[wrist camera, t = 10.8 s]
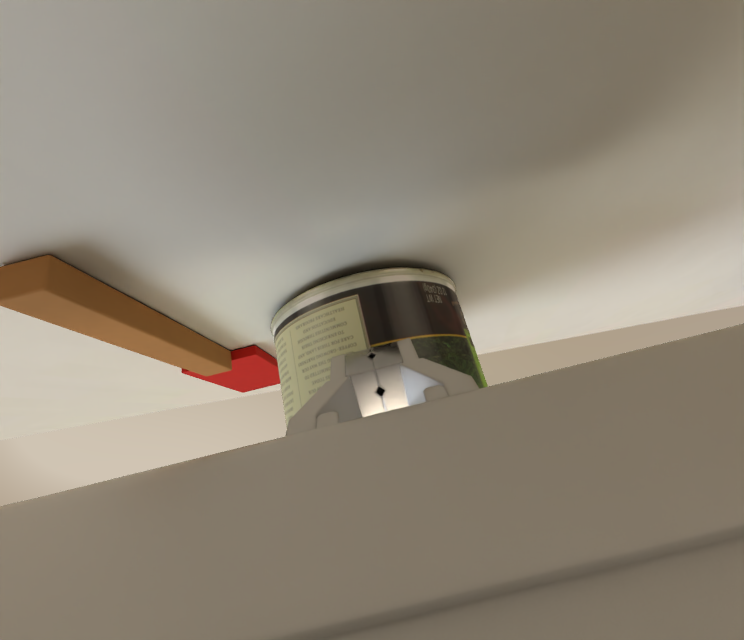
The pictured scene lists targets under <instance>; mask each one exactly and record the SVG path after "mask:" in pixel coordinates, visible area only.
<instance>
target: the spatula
mask: <svg viewBox="0 0 744 640" xmlns="http://www.w3.org/2000/svg"><path fill="white" fill-rule="evenodd" d="M0 306H3V307H6V308H9V309H12V310H14V311H17V312H20V313H23V314H26V315H29V316H32V317H35V318H38V319H41V320H44V321H46V322H49V323H52V324H55V325H58V326H61V327H64V328H67V329H70V330H73V331H76V332H78V333H81V334H84V335H87V336H90V337H93V338H96V339H99V340H102V341H105V342H107V343H110V344H113V345H116V346H119V347H122V348H125V349H128V350H131V351H134V352H137V353H139V354H142V355H145V356H148V357H151V358H154V359H157V360H160V361H163V362H166V363H169V364H171V365H174V366H177V367H180V368H182V373H184V374H187V375H190V376H193V377H196V378H199V379H202V380H205V381H208V382H212V383H215V384H218V385H221V386H224V387H227V388H230V389H233V390H236V391H239V392H247V391H251V390H255V389H259V388H263V387H267V386H272V385H276V384H280V377H279V370H278V363H277V359H275V358H274V357H272V356H271V355H269V354H268V353H266V352H264V351H263V350H261V349H260V348H258V347H257V346H255V345H254V346H250V347H246V348H242V349H238V350H234V351H229V350H227V349H225V348H224V347H222V346H220V345H218V344H216V343H214V342H212V341H210V340H209V339H207V338H205V337H203V336H201V335H199V334H197V333H195V332H194V331H192V330H190V329H188V328H186V327H184V326H182V325H181V324H179V323H177V322H175V321H173V320H171V319H169V318H167V317H166V316H164V315H162V314H160V313H158V312H156V311H154V310H152V309H151V308H149V307H147V306H145V305H143V304H141V303H139V302H138V301H136V300H134V299H132V298H130V297H128V296H126V295H124V294H123V293H121V292H119V291H117V290H115V289H113V288H111V287H109V286H108V285H106V284H104V283H102V282H100V281H98V280H96V279H95V278H93V277H91V276H89V275H87V274H85V273H83V272H81V271H80V270H78V269H76V268H74V267H72V266H70V265H68V264H66V263H65V262H63V261H61V260H59V259H57V258H55V257H53V256H51V255H45V256H41V257H37V258H33V259H29V260H25V261H21V262H17V263H14V264H10V265H6V266H2V267H0Z"/></svg>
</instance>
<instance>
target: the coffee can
mask: <svg viewBox="0 0 744 640" xmlns="http://www.w3.org/2000/svg"><path fill="white" fill-rule="evenodd" d="M271 332H272V335H273V337H274V343H275V348H276V355H277V363H278V370H279V377H280V384H281V391H282V398H283V405H284V412H285V419H286V426H288V421H289V420H290V419H291V418H292V417H293V416H294V415H295V414H296V413H297V412H298V411H299V410H300V409H301V408H302V407H303V405H304V404H305V403H306V402H307V401H308V400H309V399H310V398H311V397H312V396H313V395H314V394H315V393H316V392H317V391H318V390H319V389H320V388H321V387H322V386H323V385H324V384H325V383H326V382H327V381H330V373H331V358H332V357H335V356H339V355H342V354H348V353H352V352H356V351H361V350H365V349H369V348H374V347H377V346H381V345H385V344H388V343H392V342H396V343H397V341H400V340H403V339H407V338H410V339H411V341H412V344H413V346H414V348H415V351H416V353H417V355H418V358H424V359H427V360H430V361H432V362H435V363H438V364H440V365H443V366H446V367H448V368H451V369H454V370H456V371H459V372H462V373H464V374H467V375H470V376H472V378H473V379H474V381H475V382H476V384H477V386H478V387H479V389H480V388H484V387H488V386H487V383H486V380H485V377H484V374H483V371H482V368H481V366H480V363H479V360H478V357H477V354H476V351H475V347H474V345H473V342H472V340H471V337H470V333H469V330H468V328H467V325H466V322H465V319H464V316H463V312H462V310H461V307H460V304H459V302H458V299H457V296H456V288H455V285H454V282H453V281H452V280H451V279H450V278H449V277H448V276H446V275H445V274H442V273H440V272H437V271H434V270H429V269H422V268H407V267H396V268H386V269H377V270H371V271H366V272H361V273H356V274H352V275H349V276H345V277H341V278H338V279H335V280H332V281H330V282H327V283H324V284H321V285H319V286H316V287H314V288H312V289H310V290H308V291H306V292H304V293H302V294H301V295H299V296H297V297H296V298H294V299H293V300H291V301H290V302H288V303H287V304H286V305H284V306H283V307H282V308H281V309H280V310H279V311H278V312H277V313H276V315H275V317H274V318H273V320H272V323H271Z"/></svg>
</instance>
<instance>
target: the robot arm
mask: <svg viewBox="0 0 744 640" xmlns="http://www.w3.org/2000/svg"><path fill="white" fill-rule="evenodd" d="M0 640H744V323H743V324H739V325H735V326H732V327H727V328H724V329H720V330H716V331H712V332H708V333H703V334H699V335H696V336H691V337H687V338H683V339H679V340H675V341H671V342H667V343H663V344H659V345H654V346H650V347H646V348H642V349H638V350H634V351H630V352H626V353H622V354H618V355H614V356H610V357H606V358H602V359H598V360H594V361H590V362H586V363H582V364H577V365H573V366H570V367H565V368H561V369H557V370H553V371H549V372H545V373H541V374H537V375H533V376H529V377H525V378H521V379H517V380H513V381H509V382H505V383H500V384H496V385H492V386H488V387H484V388H480V389H479V387H478V386H477V384H476V382H475V381H474V379H473V378H472V376H470V375H467V374H464V373H462V372H459V371H456V370H454V369H451V368H448V367H446V366H443V365H440V364H438V363H435V362H432V361H430V360H427V359H424V358H418V355H417V353H416V351H415V348H414V346H413V344H412V341H411V339H410V338H407V339H403V340H400V341H397V343H396V342H392V343H388V344H385V345H381V346H377V347H374V348H369V349H365V350H361V351H356V352H352V353H348V354H342V355H339V356H335V357H332V358H331V373H330V381H327V382H326V383H325V384H324V385H323V386H322V387H321V388H320V389H319V390H318V391H317V392H316V393H315V394H314V395H313V396H312V397H311V398H310V399H309V400H308V401H307V402H306V403H305V404H304V405H303V407H302V408H301V409H300V410H299V411H298V412H297V413H296V414H295V415H294V416H293V417H292V418H291V419H290V420H289V421H288V426H287V431H286V436H285V437H282V438H277V439H274V440H269V441H265V442H261V443H257V444H253V445H249V446H245V447H241V448H237V449H233V450H229V451H225V452H220V453H216V454H213V455H208V456H204V457H200V458H196V459H192V460H188V461H184V462H180V463H176V464H172V465H168V466H164V467H160V468H156V469H152V470H148V471H144V472H140V473H135V474H132V475H127V476H123V477H119V478H115V479H111V480H107V481H103V482H99V483H95V484H91V485H87V486H83V487H79V488H75V489H71V490H67V491H62V492H59V493H55V494H50V495H46V496H42V497H38V498H34V499H30V500H25V501H21V502H17V503H12V504H7V505H4V506H0Z"/></svg>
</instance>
